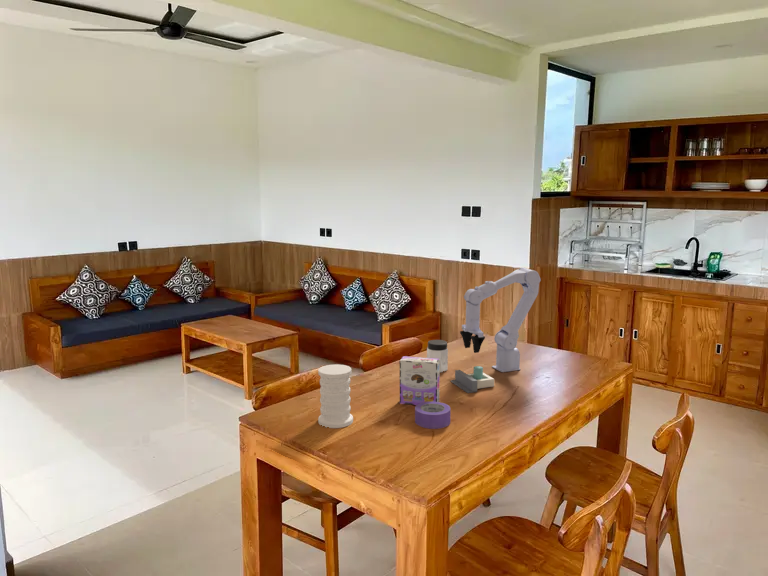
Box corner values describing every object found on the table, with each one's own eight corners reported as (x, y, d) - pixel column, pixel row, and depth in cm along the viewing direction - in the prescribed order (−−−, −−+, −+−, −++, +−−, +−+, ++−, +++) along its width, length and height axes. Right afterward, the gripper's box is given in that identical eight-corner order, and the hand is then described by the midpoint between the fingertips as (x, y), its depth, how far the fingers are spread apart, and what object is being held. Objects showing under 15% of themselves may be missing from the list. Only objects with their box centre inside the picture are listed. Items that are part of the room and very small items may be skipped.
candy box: (439, 401, 214) (440, 358, 212) (436, 407, 209) (437, 362, 206) (402, 398, 218) (403, 355, 215) (398, 403, 213) (399, 359, 210)
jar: (437, 374, 245) (437, 346, 243) (422, 369, 251) (423, 342, 249) (451, 369, 251) (451, 342, 249) (436, 365, 257) (437, 338, 255)
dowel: (471, 383, 233) (472, 366, 232) (479, 382, 234) (480, 365, 233) (475, 386, 230) (476, 369, 229) (484, 385, 231) (484, 368, 230)
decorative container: (341, 430, 189) (341, 377, 186) (311, 424, 195) (310, 371, 191) (359, 418, 200) (358, 366, 196) (330, 412, 205) (329, 362, 202)
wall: (459, 380, 237) (459, 369, 236) (477, 391, 224) (477, 380, 223) (450, 381, 236) (450, 370, 235) (467, 393, 223) (468, 381, 222)
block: (482, 379, 238) (482, 372, 237) (494, 386, 230) (494, 378, 229) (462, 381, 235) (462, 374, 234) (473, 389, 227) (474, 381, 226)
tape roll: (408, 424, 195) (408, 410, 194) (424, 412, 205) (424, 398, 204) (441, 432, 189) (441, 417, 188) (456, 419, 199) (456, 405, 198)
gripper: (455, 315, 249) (455, 346, 252) (473, 322, 236) (472, 355, 238) (470, 314, 252) (469, 344, 254) (488, 321, 238) (487, 353, 241)
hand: (471, 350), depth 246 cm, fingers open, 7 cm apart
